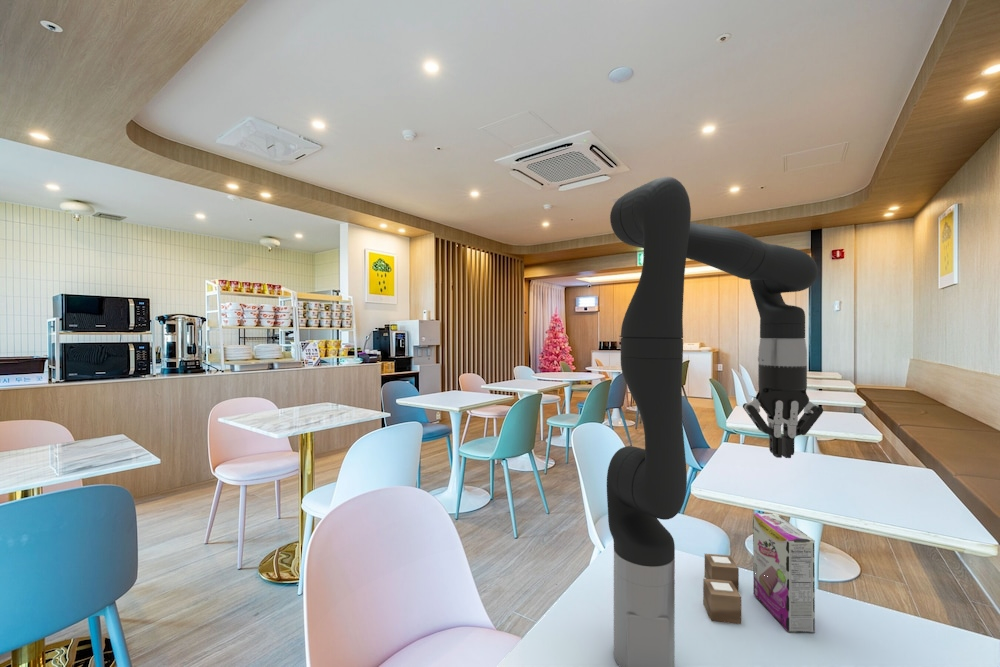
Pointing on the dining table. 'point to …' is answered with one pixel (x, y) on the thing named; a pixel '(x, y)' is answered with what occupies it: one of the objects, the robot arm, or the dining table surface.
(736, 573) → the marked block far
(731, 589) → the marked block near
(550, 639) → the dining table surface
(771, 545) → the candy bar box
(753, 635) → the dining table surface
